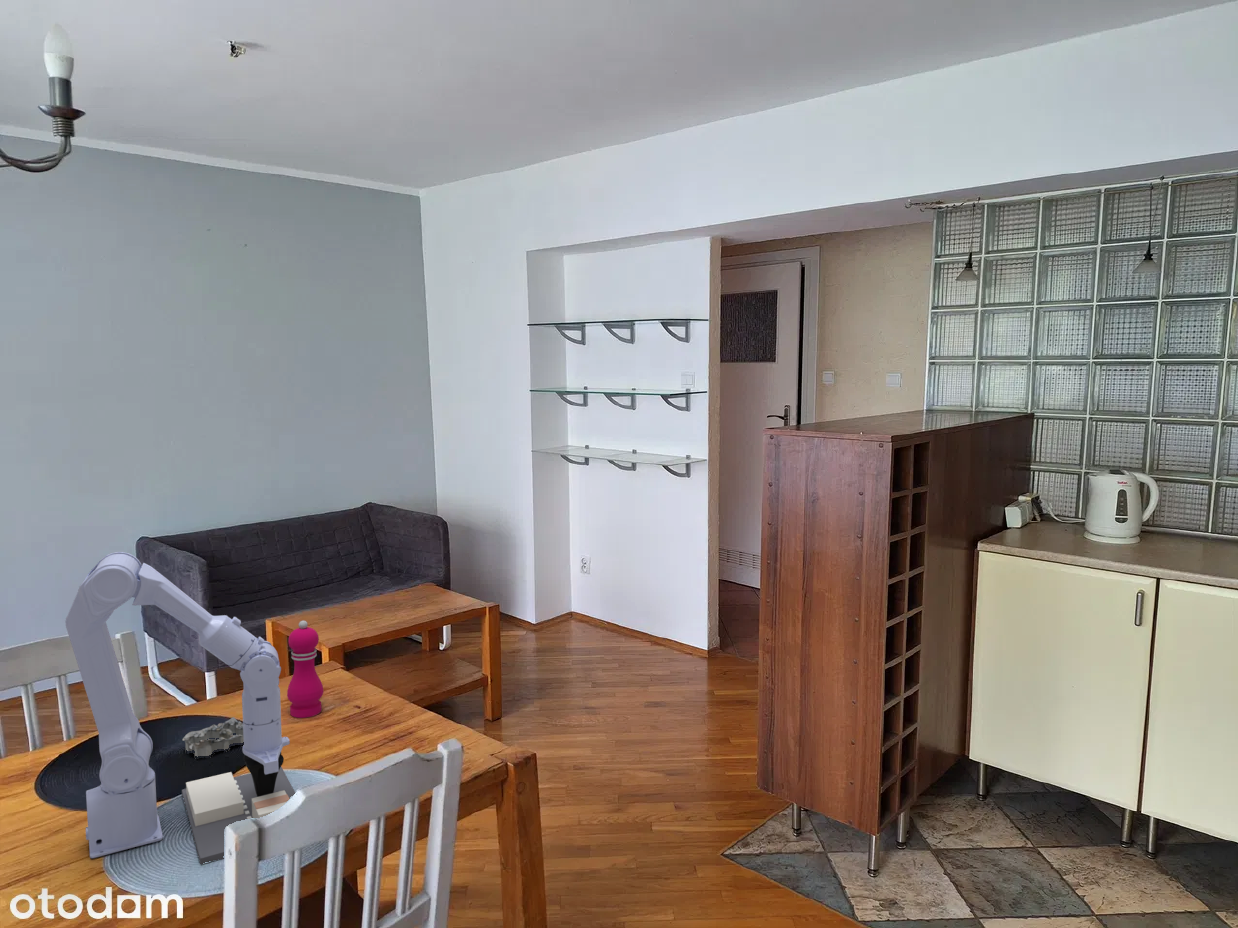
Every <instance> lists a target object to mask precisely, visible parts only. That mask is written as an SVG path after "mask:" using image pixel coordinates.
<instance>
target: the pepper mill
mask: <svg viewBox="0 0 1238 928" xmlns="http://www.w3.org/2000/svg"><path fill="white" fill-rule="evenodd" d="M319 639H320V638H319V634H318V632H317V631H316V630H315V629H314V628H312V627H309V626H308V622H307V621H306V620H300V621H299V622H298V627H297V628H295V629H293V630H292V631H291V632H290V634H289V637H288V646H289V648H290V649H291V652H290V653H291V657H290V658H291V659H292V660H293V663H294V664H293V665H294V668H293V669H294V670H293V674H292V676H291V679H290V681H289V684H288V687H287V690H286V697H287V700H289V702H290V703H291V704H290V705H289V714H290V716H291V717H293V718H297V719H303V718H310V717H311V718H312V717H315V716H317V715H318V714H320V713H321V712H322V710H323V709H322V701H321V700H320V699H321V698H322V697H323V695H324V685H323V682H322V681H321V679H320V677H319V675H318V673H317V670H316V668H315V667H316V666H315V658H316V657H317V656H318V655H317V648H316V647H317V646H318V644H319Z"/></svg>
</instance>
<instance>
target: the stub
mask: <svg viewBox="0 0 1238 928" xmlns="http://www.w3.org/2000/svg"><path fill="white" fill-rule="evenodd" d="M288 800H289V797H288V795H287V794H286V792H285V790H283V791H279V792H275V793H271V794H267V795H263V796H259V797H255V798H252V817H253V818H260V817H263V816H266V815H268V814H270V813H272V812H274V811H275V810H277V809H279V808H280V807H281V806H283V805H284V804H285V803H286V802H287V801H288Z"/></svg>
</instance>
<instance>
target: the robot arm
mask: <svg viewBox="0 0 1238 928" xmlns="http://www.w3.org/2000/svg"><path fill="white" fill-rule="evenodd" d="M132 598H134V600H133V602H132V606H156V607H158V608H159V609H160V610H162V611H164V612H165V613H167V614H169V615H170V616H171V617H172V618H174V619H176V620H177V621H179V622H181V623H182V624H183V625H185V626H186V627H188V628H190V629H191V630H192V631H194V632H196V633H197V635H198V644H199V646H200V647H201V648H204V649H205V650H206V651H208V652H209V653H210V654H212V655H213V656H215V657H216V658H217V659H219V661H222V662H223V663H225V665H228V666H229V668H230V669H231V668H232V669H234V670H238V671H240V672H239V676H240V679H241V681H242V682H243V691H242V693H241V704H242V707H241V709H242V723H243V737H244V745H243V746H242V753H243V754H244V755H243V761H244V764H245V766H246V768H247V769H248V771H249V774H250V773H251V775H252V778H253V783H254V787H255V791H256V794H257V797H259V796H263V795H267V794H271V793H274V788H275V782H276V778H277V774H278V772H279V769H280V767H282V765H283V764H284V760H285V759H284V756H283V754H282V750H283V747H285V746H289V745H290V743H291V742H290V738H289V737H288V736H283V735H282V710H281V706H282V705H281V688H280V686H279V685H280V678H279V677H280V675H281V671H282V667H281V666H280V659H279V654H278V653H279V652H278V651H277V650H276V648H275V647H274V646H273V644H272V643H271V642H270V641H267V640H265V639H264V638H262V637H261V636H258V637H256V636H255V635H253V634H252V633H251V632H249V631H248V630H247V629H246V628H244V627H243V626H241V624H242V620H241V619H239V618H238V617H237V616H233V618H231V617H229V616H228V615H227V614H226V615H225V614H224V615H223V614H222V615H212V614H211V613H210V612H208V611H207V610H206V609H205V608H204V607H202V606H201V605H200V604H199V603H197V602H196V601H195V600H194V599H192V597H190V596H189V595H187V593H185V592H184V591H182V590H181V589H180V587H178V586H177V585H175V584H174V583H173V582H171V580H169V579H168V578H167V577H165V576H164V575H163V574H162V573H160V572H159V571H157V569H155V568H154V567H152V565H149V564H147V563H145V562H143V563H141V561H140V560H139V559H138V558H137V556H135V555H134V554H131V553H128V552H125V551H116V552H111V553H109V554H106V555H105V556H104V557H102V558H100V559H99V561H98V562H97V563H96V564H95V565H94V566H93V567H92V569H91V570H90V571H89V572H88V573H87V575H86V576H85V578H84V580H83V581H82V583H81V584H80V585H79V586H78V590H77V592H76V595H75V597H74V599H73V602H72V604H71V606H70V609H69V611H68V613H67V616H66V618H65V620H64V621H65V628H66V631H67V634H68V639H69V641H70V644H71V647H72V650H73V655H74V657H75V660H76V664H77V666H78V671H79V673H80V678H81V679H82V683H83V685H84V690H85V692H86V695H87V700H88V702H89V705H90V709H91V712H92V715H93V719H94V722H95V726H96V729H97V732H98V745H99V746H98V747H99V748H98V749H99V754H100V758H101V766H100V770H99V781H100V782H101V783H100V785H98V786H97V787H94V788H90V789H88V790H85V795H86V797H85V798H86V799H85V800H86V814H87V827H85V840H86V841H88V845H89V846H88V847H89V858H90V859H95V858H99V857H103V856H106V855H110V854H114V853H118V852H122V851H125V850H128V849H133V848H135V847H136V848H137V847H140V846H145V845H148V844H152V843H156V842H159V841H162V840H163V838H164V835H163V831H162V826H161V821H160V816H159V815H158V809H157V808H158V805H157V789H156V787H157V785H156V773H155V772H156V771H155V770H154V769H152V767H150V765H149V763H150V757H151V754H152V752H153V746H154V745H153V740H152V738H151V736H150V734H148V733H147V732H146V731H145V730H144V729H143V728H142V725H140V724H141V723H140V721H139V719H138V718H137V716H136V715H135V714H134V712H133V708H132V704H131V701H130V698H129V695H128V692H127V688H126V685H125V682H124V681H125V680H124V678H123V675H122V671H121V668H120V665H119V662H118V658H117V654H116V651H115V649H114V645H113V641H112V638H111V635H110V631H109V628H108V624H107V621H108V619H110V616H111V615H112V614H113V613H114V612H115V610H117V609H118V608H119V607H121V606H122V605H124V604H125V603H127V602H128V601H129V600H131V599H132Z"/></svg>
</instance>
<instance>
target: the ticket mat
mask: <svg viewBox="0 0 1238 928" xmlns="http://www.w3.org/2000/svg"><path fill="white" fill-rule="evenodd" d="M283 790H285V792H286V794H287V795H288V797H289V799H290V797H291V796H293V795H294V794H295V793H296V791H295V790H294V788H293V786H292V784H291V782H290V780H289V778H288V777H287V775H286V773H285V771H284V769H283V767H282V766H281V767H280V769H279V772H278V774H277V778H276V782H275V788H274V793H275V792H279V791H283ZM181 796H183V797H182V799H183V798H184V801H183V803H184V802H185V804H184V807H185V806H186V808H185V811H186V810H187V812H186V815H187V814H188V816H187V818H189V819H188V822H189V821H190V823H189V826H190V825H191V827H190V829H192V831H191V834H192V833H193V835H192V838H193V837H194V838H193V842H194V841H195V842H194V845H195V844H196V846H195V850H196V849H197V850H196V853H197V856H199V857H198V860H200V861H199V864H202V865H204V864H203V863H205V862H209V861H213V860H216V861H220V860H222V859H224V858H223V856H224V829H225V827H226V826H228V825H229V824H232V823H234V822H236V821H241V820H245V819H250V818H253V817H252V798H255V797H257V794H256V791H255V787H254V783H253V778H252V775H251V773H250V772H249V773H246V774H242V775H238V776H233V773H232V771H230V772H224V773H221V774H217V775H216V774H215V775H212V776H209V777H204V778H200V779H195V780H190V781H187V782H185V788H184V789H181ZM218 859H219V860H218ZM213 862H214V861H213ZM209 863H210V862H209Z"/></svg>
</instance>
